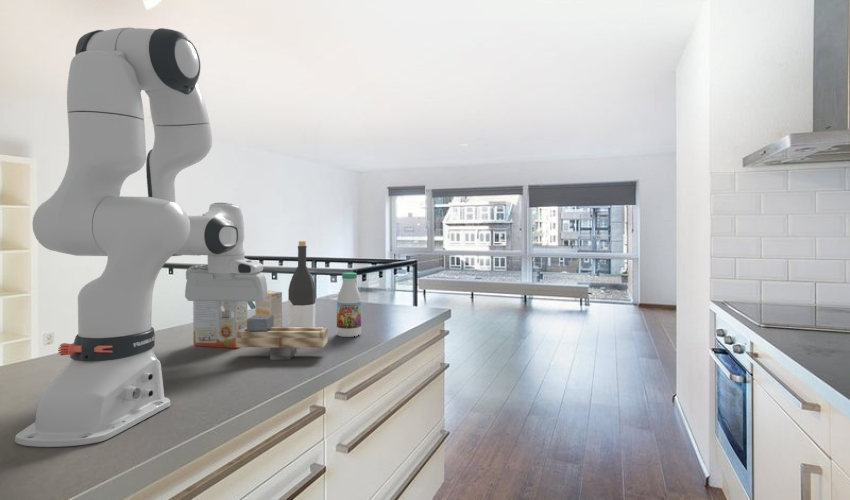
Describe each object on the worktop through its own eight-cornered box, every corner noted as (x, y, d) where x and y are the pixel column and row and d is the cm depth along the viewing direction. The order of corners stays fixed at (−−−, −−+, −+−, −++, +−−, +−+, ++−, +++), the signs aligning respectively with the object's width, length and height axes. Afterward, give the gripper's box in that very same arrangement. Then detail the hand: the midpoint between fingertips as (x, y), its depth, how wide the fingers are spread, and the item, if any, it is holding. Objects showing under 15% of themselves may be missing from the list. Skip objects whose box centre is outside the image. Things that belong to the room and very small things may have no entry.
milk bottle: (334, 333, 142) (334, 272, 141) (357, 331, 146) (357, 271, 145) (340, 338, 135) (340, 274, 134) (364, 336, 139) (364, 273, 138)
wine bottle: (317, 339, 134) (317, 241, 132) (289, 341, 131) (289, 241, 129) (313, 333, 141) (313, 241, 140) (287, 335, 138) (287, 240, 137)
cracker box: (248, 344, 127) (248, 272, 126) (235, 349, 121) (234, 274, 121) (207, 340, 131) (207, 270, 130) (192, 345, 125) (191, 272, 124)
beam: (327, 352, 120) (328, 326, 120) (322, 359, 113) (323, 332, 113) (246, 352, 119) (246, 326, 119) (236, 359, 112) (236, 332, 112)
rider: (273, 331, 118) (273, 315, 118) (267, 336, 113) (266, 319, 113) (254, 331, 118) (254, 315, 118) (247, 336, 113) (247, 319, 112)
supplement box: (283, 331, 144) (283, 291, 144) (271, 334, 140) (271, 293, 140) (266, 328, 149) (266, 289, 148) (254, 330, 144) (254, 291, 144)
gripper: (179, 266, 111) (180, 320, 112) (261, 267, 112) (261, 320, 113) (191, 264, 117) (192, 315, 118) (269, 264, 118) (269, 315, 119)
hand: (227, 317), depth 115 cm, fingers closed
